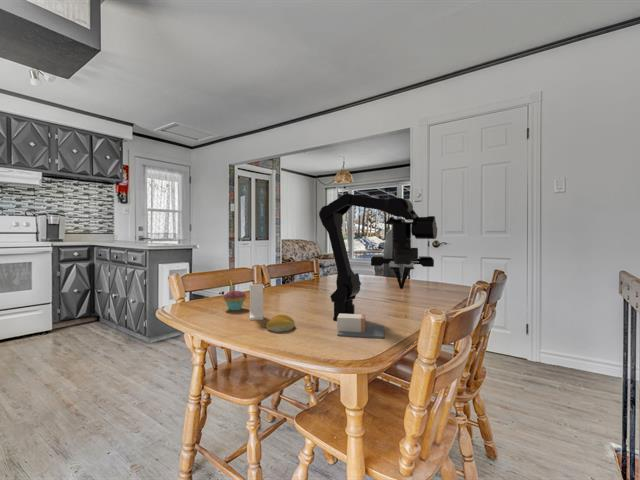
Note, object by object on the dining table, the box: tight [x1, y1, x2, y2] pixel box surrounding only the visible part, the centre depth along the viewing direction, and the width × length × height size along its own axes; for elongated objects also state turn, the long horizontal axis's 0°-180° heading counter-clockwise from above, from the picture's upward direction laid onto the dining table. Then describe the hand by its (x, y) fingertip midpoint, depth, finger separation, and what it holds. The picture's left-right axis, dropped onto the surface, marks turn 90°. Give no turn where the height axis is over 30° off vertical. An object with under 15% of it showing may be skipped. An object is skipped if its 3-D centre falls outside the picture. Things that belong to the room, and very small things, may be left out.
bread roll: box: [266, 314, 296, 333], centre depth 104 cm, size 8×9×4 cm
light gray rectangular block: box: [249, 283, 264, 321], centre depth 117 cm, size 5×6×12 cm
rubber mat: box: [337, 324, 385, 339], centre depth 101 cm, size 13×11×1 cm
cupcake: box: [223, 277, 247, 311], centre depth 130 cm, size 9×8×12 cm
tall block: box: [336, 313, 366, 332], centre depth 101 cm, size 4×5×8 cm
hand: (401, 288), depth 105 cm, fingers closed
